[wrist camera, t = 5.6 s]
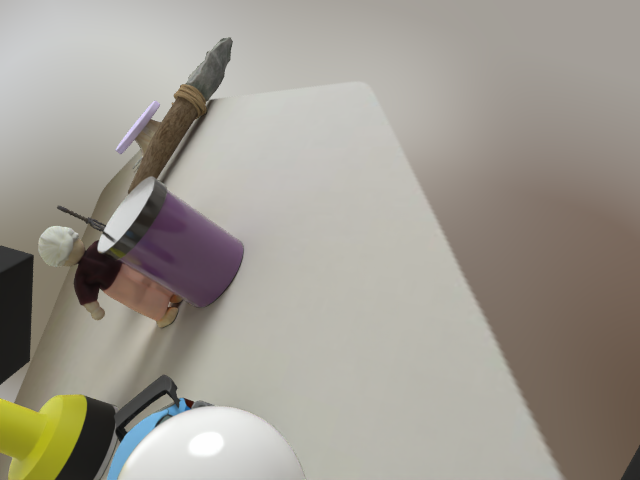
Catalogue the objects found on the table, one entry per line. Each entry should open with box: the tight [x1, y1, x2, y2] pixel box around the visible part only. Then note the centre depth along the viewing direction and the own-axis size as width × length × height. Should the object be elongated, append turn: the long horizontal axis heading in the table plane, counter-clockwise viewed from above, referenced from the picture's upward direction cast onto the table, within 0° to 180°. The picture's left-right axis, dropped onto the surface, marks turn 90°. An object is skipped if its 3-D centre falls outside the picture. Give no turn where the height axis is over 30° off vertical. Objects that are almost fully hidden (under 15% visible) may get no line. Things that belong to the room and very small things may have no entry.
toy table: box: [116, 100, 161, 157], centre depth 86 cm, size 10×9×6 cm
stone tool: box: [128, 37, 233, 195], centre depth 81 cm, size 6×4×30 cm
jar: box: [98, 176, 243, 308], centre depth 45 cm, size 7×7×9 cm
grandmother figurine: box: [38, 226, 183, 328], centre depth 47 cm, size 8×4×13 cm, turn 166°
